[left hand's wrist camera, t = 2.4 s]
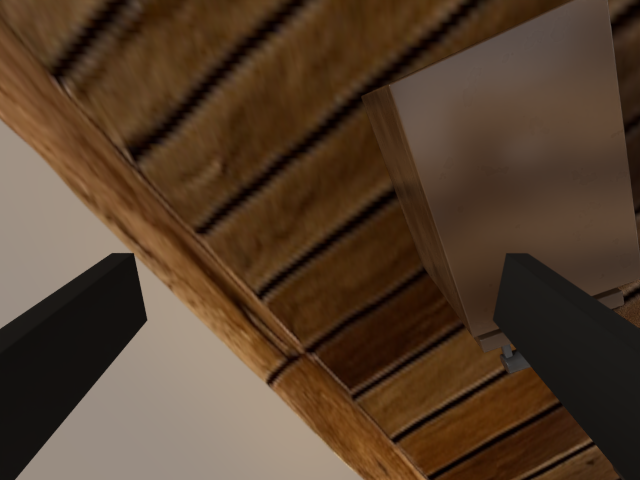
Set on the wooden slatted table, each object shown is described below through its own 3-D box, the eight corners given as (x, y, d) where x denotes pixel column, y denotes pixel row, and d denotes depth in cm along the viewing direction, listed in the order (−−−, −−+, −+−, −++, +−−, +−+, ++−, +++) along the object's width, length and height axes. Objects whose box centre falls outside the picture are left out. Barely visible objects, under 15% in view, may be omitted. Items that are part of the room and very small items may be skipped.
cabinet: (532, 223, 33) (643, 278, 22) (422, 265, 35) (473, 338, 23) (489, 37, 28) (606, -17, 17) (360, 96, 29) (388, 84, 18)
